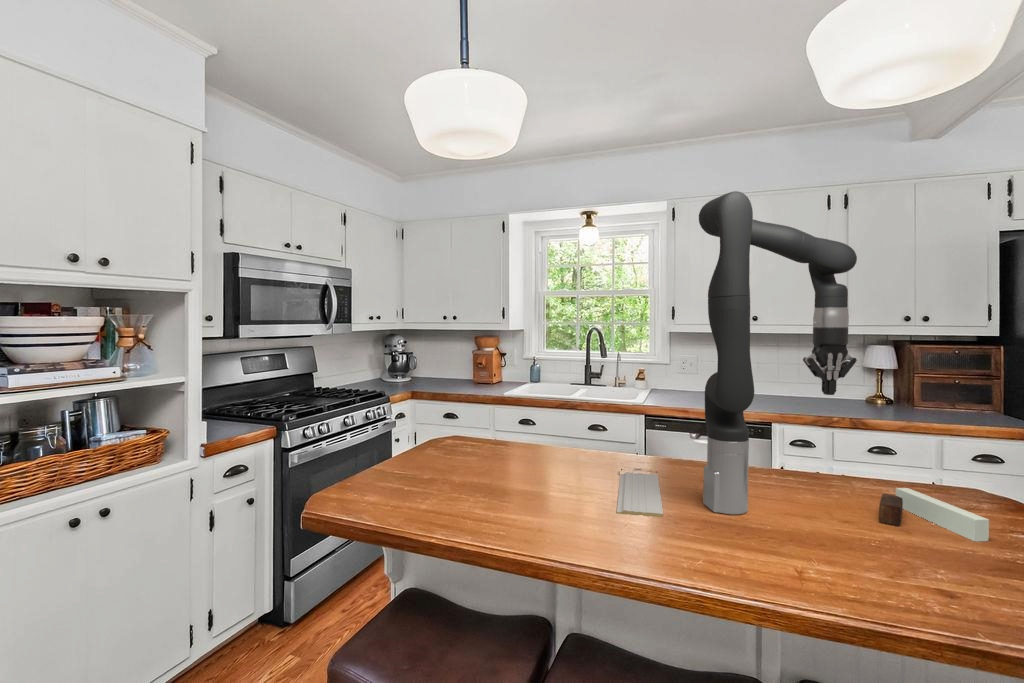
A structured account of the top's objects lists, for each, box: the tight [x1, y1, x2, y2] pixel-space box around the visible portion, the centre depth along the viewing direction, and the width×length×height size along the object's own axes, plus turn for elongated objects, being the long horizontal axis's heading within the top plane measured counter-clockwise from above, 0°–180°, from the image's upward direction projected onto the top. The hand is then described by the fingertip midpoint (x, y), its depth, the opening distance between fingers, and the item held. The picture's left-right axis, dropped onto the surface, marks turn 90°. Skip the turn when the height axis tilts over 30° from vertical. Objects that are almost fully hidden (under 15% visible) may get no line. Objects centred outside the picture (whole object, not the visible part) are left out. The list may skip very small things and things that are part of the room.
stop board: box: [895, 487, 990, 542], centre depth 113 cm, size 3×20×4 cm, turn 3°
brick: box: [878, 493, 904, 527], centre depth 115 cm, size 11×4×5 cm, turn 140°
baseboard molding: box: [616, 468, 664, 518], centre depth 132 cm, size 31×3×12 cm
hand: (828, 394), depth 126 cm, fingers closed
